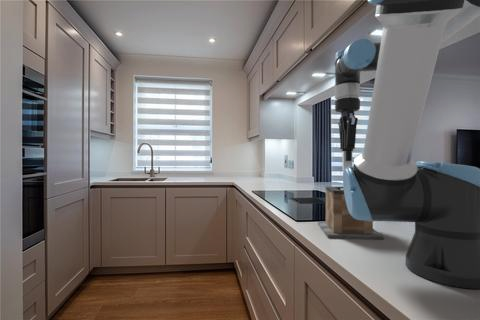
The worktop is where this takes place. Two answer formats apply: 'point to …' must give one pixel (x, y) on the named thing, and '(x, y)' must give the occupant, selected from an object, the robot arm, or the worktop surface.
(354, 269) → the worktop surface
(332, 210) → the tan stepped shape
